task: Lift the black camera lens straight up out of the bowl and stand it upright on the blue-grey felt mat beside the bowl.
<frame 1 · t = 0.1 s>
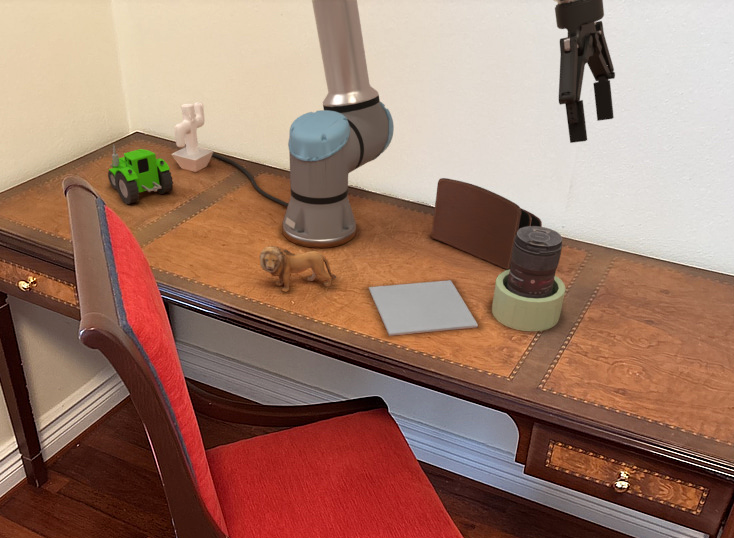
hand: (592, 130, 139), 28 cm above the table, tool tilted 20°, fingers open, 13 cm apart
lion figurine: (297, 288, 149), on the table
camera lens: (525, 312, 144), resting on bowl
letter holder: (483, 247, 164), on the table
figurine: (194, 168, 193), on the table
bowl: (525, 313, 144), on the table
toy tractor: (138, 193, 181), on the table
mat: (421, 307, 144), on the table
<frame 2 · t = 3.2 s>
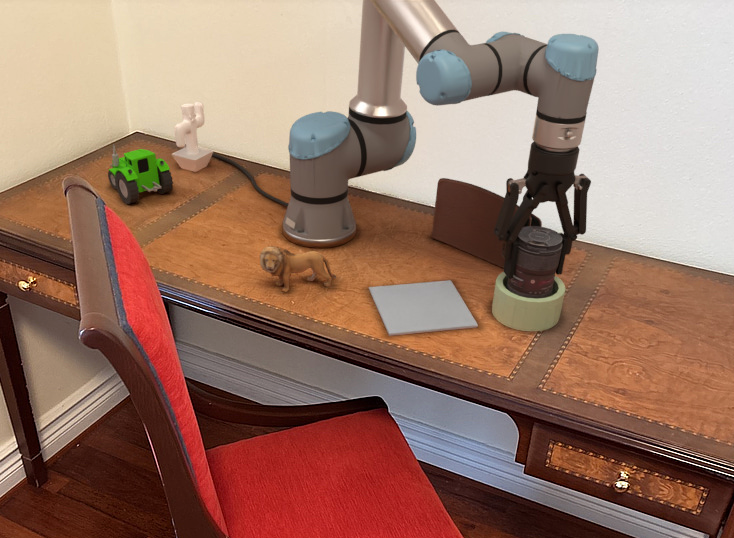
hand: (532, 272, 139), 8 cm above the table, tool pointing down, fingers closed on camera lens, 8 cm apart
camera lens: (525, 312, 144), resting on bowl, touching gripper
everything else where it was.
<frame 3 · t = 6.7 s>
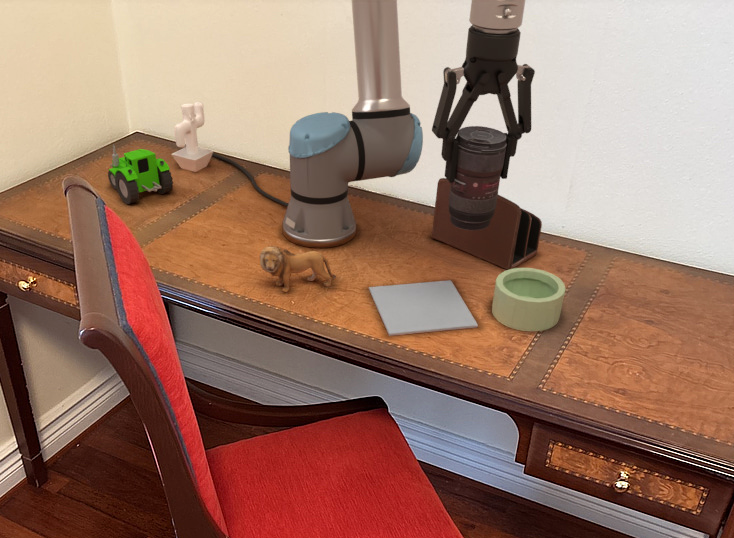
hand: (475, 177, 129), 25 cm above the table, tool pointing down, fingers closed on camera lens, 8 cm apart
camera lens: (470, 223, 134), point 17 cm above the table, touching gripper
everything else where it was.
when the fingers open (8 cm above the table, at t = 10.3 s): camera lens stays where it is, resting on mat.
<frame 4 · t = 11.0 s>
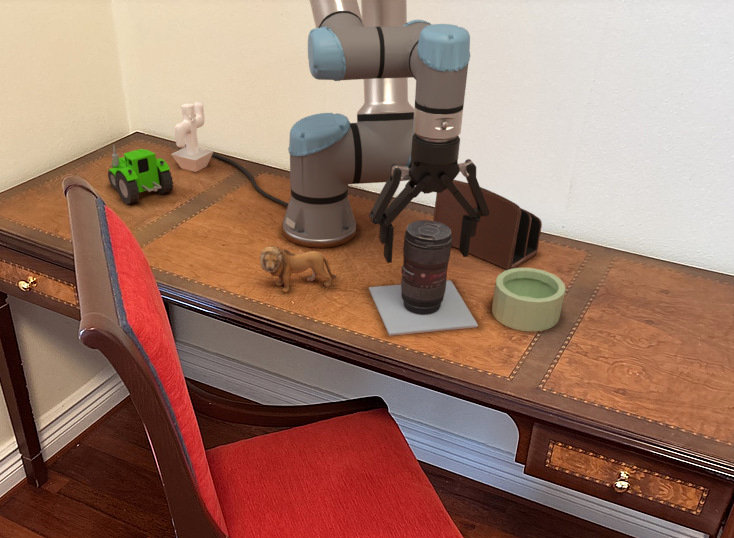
hand: (425, 256, 138), 10 cm above the table, tool pointing down, fingers open, 13 cm apart
camera lens: (422, 306, 144), resting on mat
everything else where it was.
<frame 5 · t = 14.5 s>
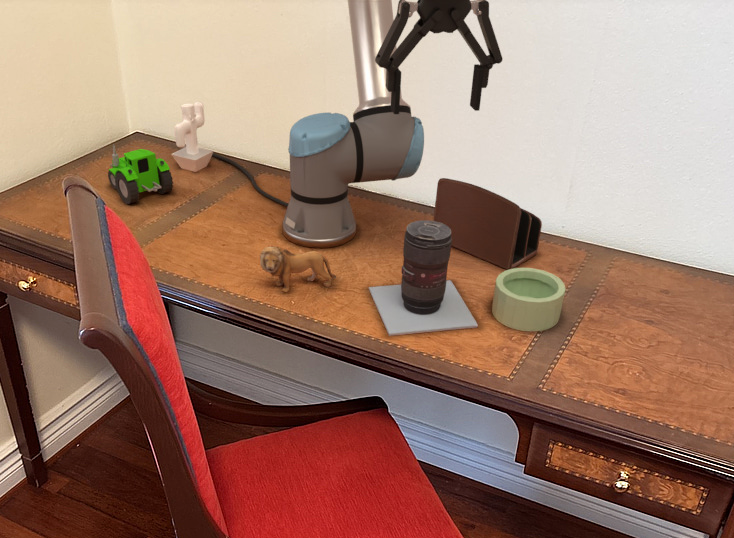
hand: (434, 110, 131), 33 cm above the table, tool pointing down, fingers open, 13 cm apart
nothing on the table moved.
at the end: camera lens inside the target area on the mat (0.1 cm from its centre), point 0.3 cm above the mat's base; camera lens tilted 0°; the gripper is holding nothing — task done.
